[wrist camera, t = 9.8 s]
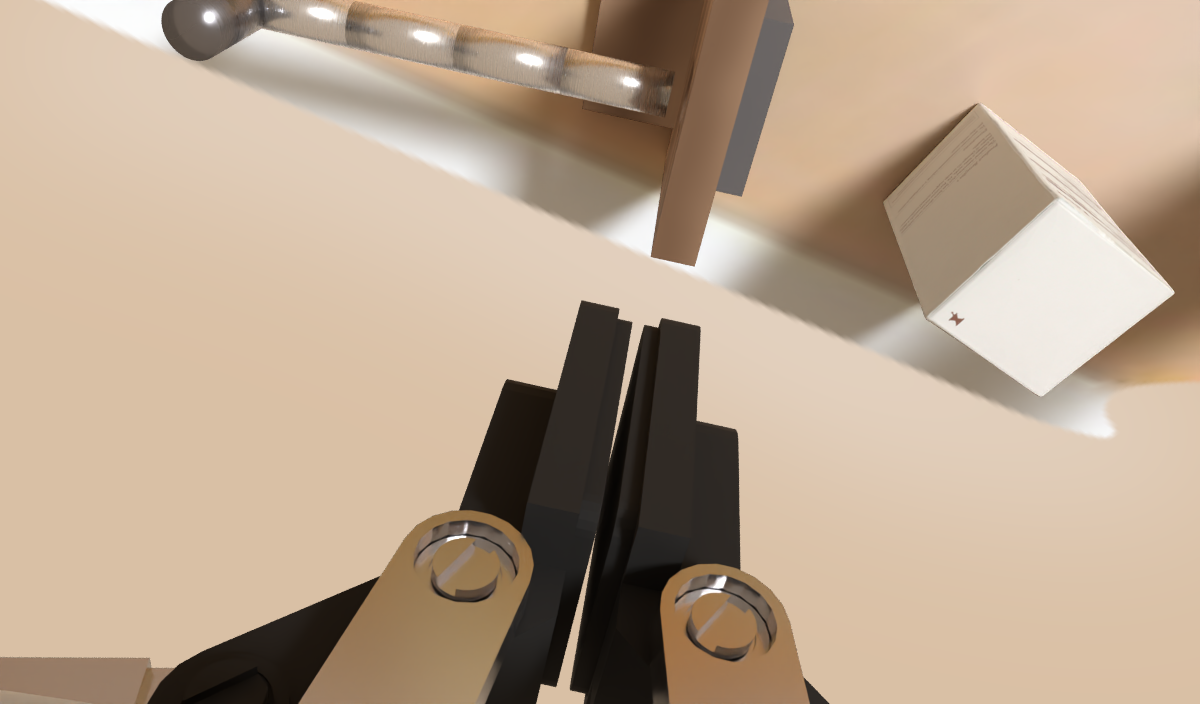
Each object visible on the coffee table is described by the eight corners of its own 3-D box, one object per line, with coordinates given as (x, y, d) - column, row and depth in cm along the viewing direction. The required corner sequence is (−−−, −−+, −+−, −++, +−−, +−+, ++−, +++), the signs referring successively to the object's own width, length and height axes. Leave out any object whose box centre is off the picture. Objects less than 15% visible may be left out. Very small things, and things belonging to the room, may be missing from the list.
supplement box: (973, 272, 51) (1037, 405, 40) (878, 200, 49) (919, 319, 39) (1081, 177, 47) (1182, 296, 37) (982, 95, 45) (1058, 195, 35)
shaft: (677, 61, 39) (669, 105, 34) (665, 113, 41) (656, 162, 36) (230, -38, 39) (158, -8, 34) (233, 17, 41) (164, 53, 36)
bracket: (761, -67, 42) (772, -13, 32) (701, 164, 49) (694, 266, 39) (619, -99, 42) (587, -54, 32) (578, 137, 49) (541, 232, 39)
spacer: (783, -16, 44) (793, 24, 37) (739, 136, 48) (741, 196, 41) (754, -23, 44) (759, 17, 37) (712, 130, 48) (710, 189, 41)
